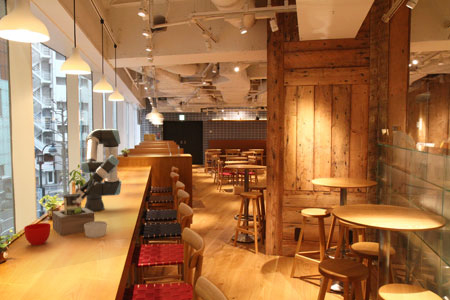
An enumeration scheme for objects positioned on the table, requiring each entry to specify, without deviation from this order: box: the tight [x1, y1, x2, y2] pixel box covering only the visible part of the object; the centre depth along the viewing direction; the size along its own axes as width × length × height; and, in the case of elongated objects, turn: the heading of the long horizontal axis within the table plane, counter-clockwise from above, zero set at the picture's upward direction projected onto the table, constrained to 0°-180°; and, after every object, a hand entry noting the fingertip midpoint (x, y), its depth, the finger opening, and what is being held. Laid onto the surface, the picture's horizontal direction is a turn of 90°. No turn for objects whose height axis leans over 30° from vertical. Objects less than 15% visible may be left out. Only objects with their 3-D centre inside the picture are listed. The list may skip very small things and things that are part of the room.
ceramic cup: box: [23, 222, 52, 246], centre depth 198 cm, size 13×17×10 cm
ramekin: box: [84, 220, 108, 239], centre depth 212 cm, size 13×13×7 cm
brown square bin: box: [51, 206, 96, 237], centre depth 225 cm, size 20×20×12 cm
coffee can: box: [62, 193, 82, 215], centre depth 225 cm, size 10×10×14 cm
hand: (75, 200), depth 225 cm, fingers open, 13 cm apart
